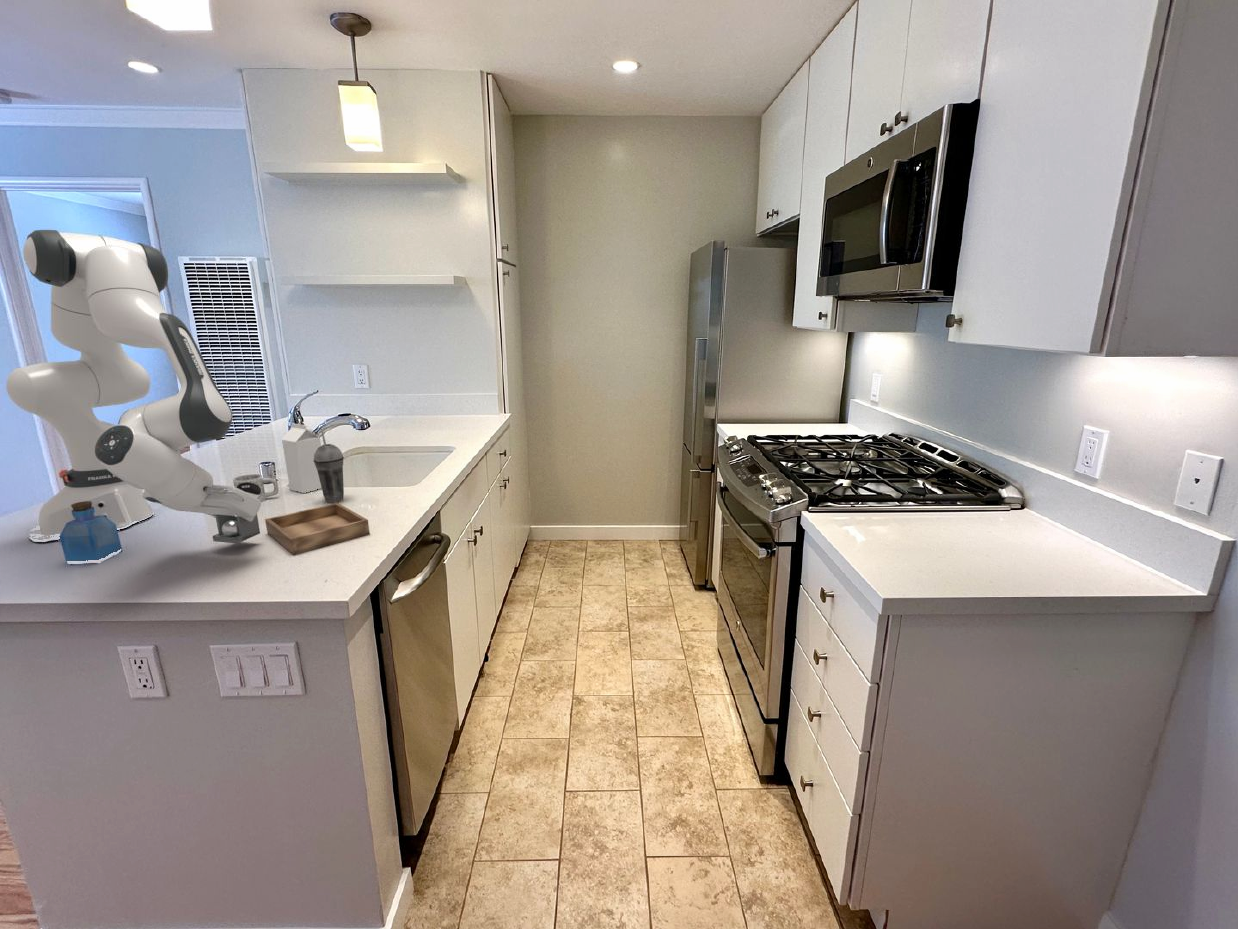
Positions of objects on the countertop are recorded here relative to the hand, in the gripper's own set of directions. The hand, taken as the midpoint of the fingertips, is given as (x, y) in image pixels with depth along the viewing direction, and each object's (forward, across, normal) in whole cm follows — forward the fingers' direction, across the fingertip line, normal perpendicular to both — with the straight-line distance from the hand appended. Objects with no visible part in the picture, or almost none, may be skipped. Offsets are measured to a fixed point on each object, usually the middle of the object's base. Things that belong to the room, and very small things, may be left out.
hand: (236, 516), depth 123 cm
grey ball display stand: (+3, 0, +4) cm, 4 cm away
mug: (+25, +23, -15) cm, 37 cm away
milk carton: (+33, +17, -23) cm, 44 cm away
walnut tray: (+11, -12, -2) cm, 16 cm away
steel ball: (0, 0, +3) cm, 3 cm away
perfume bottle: (-3, +25, +13) cm, 28 cm away
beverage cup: (+28, +2, -18) cm, 33 cm away
